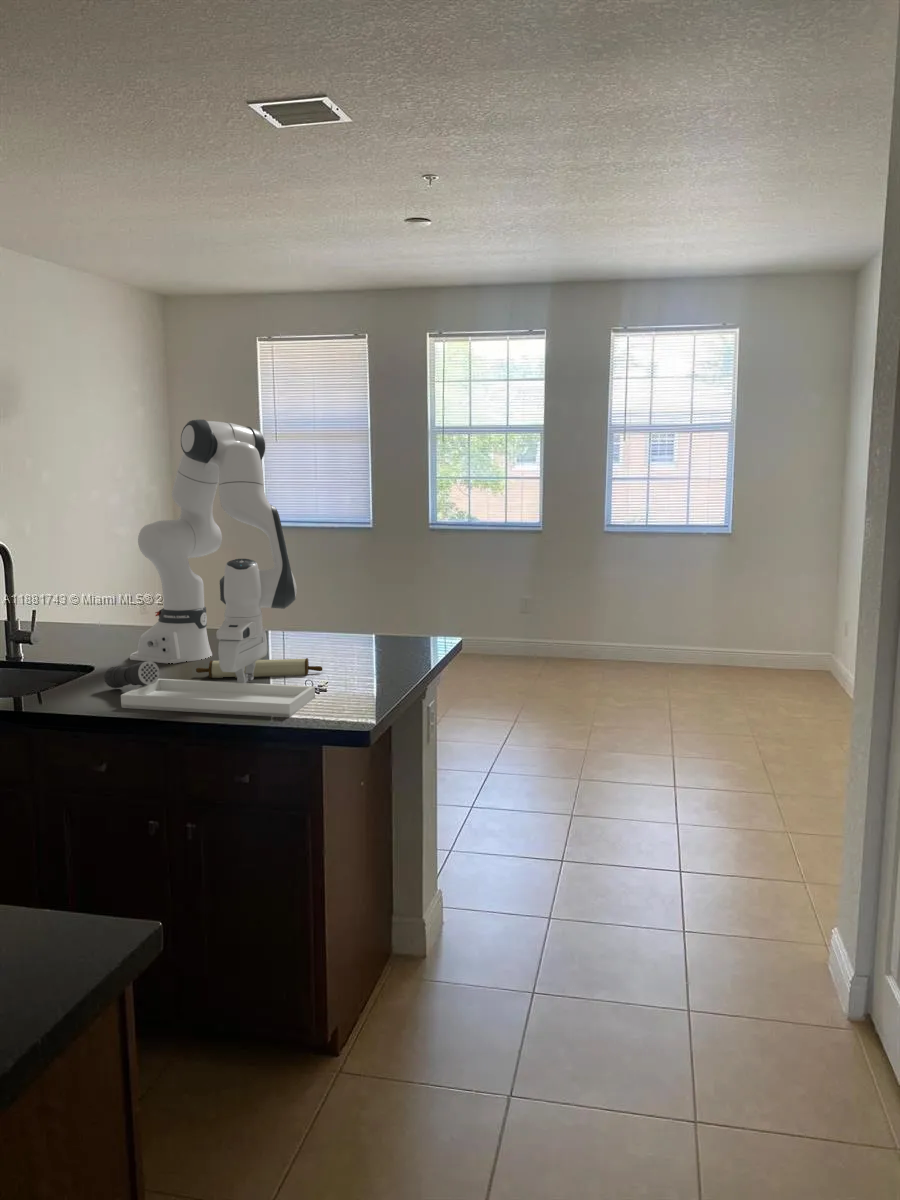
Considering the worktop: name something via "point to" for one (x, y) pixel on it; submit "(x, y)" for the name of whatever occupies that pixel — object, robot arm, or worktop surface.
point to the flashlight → (132, 675)
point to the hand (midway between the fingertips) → (245, 682)
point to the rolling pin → (266, 668)
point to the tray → (219, 697)
